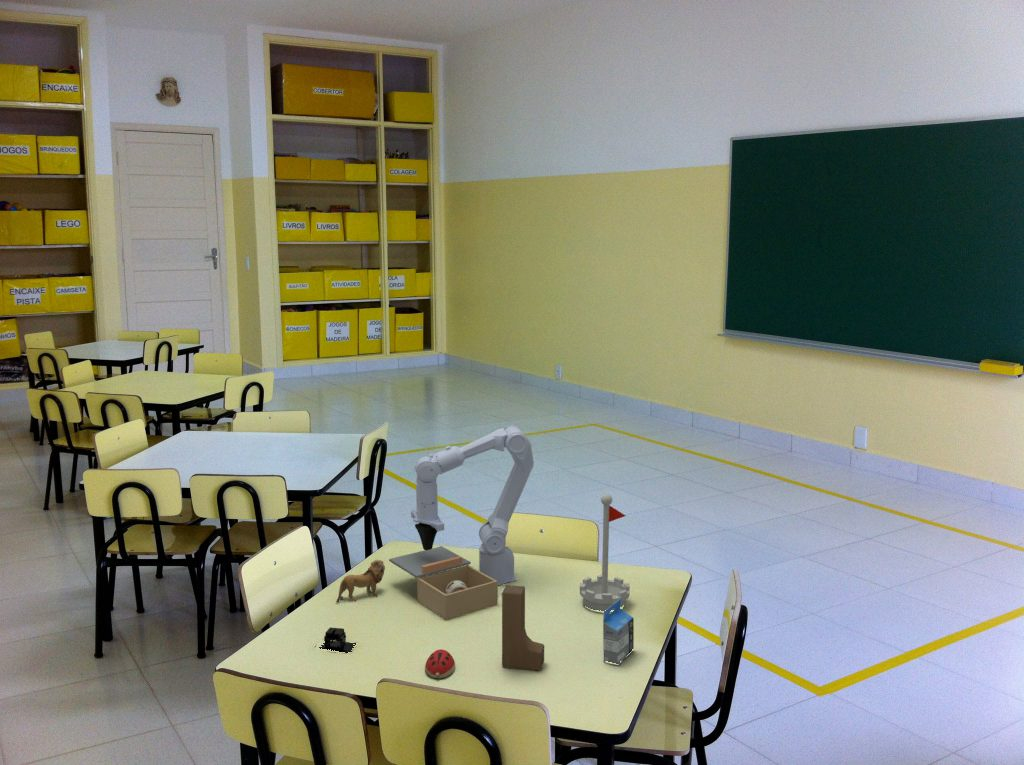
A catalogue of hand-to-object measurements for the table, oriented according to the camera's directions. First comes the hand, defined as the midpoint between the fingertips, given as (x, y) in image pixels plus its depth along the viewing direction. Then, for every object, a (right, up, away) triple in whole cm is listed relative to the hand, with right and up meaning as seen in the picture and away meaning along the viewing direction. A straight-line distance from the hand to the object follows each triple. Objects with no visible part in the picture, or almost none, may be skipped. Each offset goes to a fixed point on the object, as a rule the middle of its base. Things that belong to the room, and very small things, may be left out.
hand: (427, 549), depth 245 cm
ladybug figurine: (+7, -19, -45) cm, 49 cm away
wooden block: (+26, -18, -43) cm, 53 cm away
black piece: (-18, -17, -34) cm, 43 cm away
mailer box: (+9, -12, -10) cm, 18 cm away
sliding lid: (+1, -4, 0) cm, 4 cm away
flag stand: (+47, -13, -10) cm, 50 cm away
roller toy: (+9, -13, -10) cm, 18 cm away
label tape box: (+48, -18, -39) cm, 64 cm away
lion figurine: (-17, -12, -6) cm, 22 cm away
